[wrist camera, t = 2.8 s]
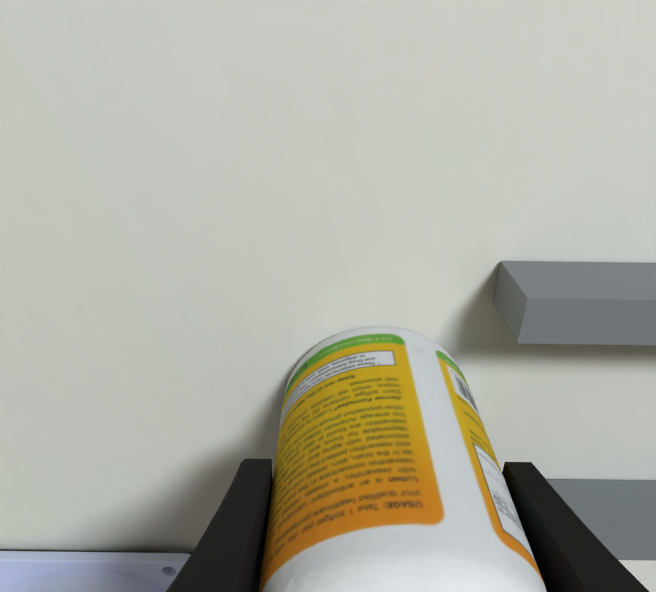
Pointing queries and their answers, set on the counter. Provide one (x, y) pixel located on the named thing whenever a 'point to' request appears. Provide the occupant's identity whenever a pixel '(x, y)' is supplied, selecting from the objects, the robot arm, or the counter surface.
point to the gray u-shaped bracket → (590, 329)
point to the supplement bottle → (388, 477)
